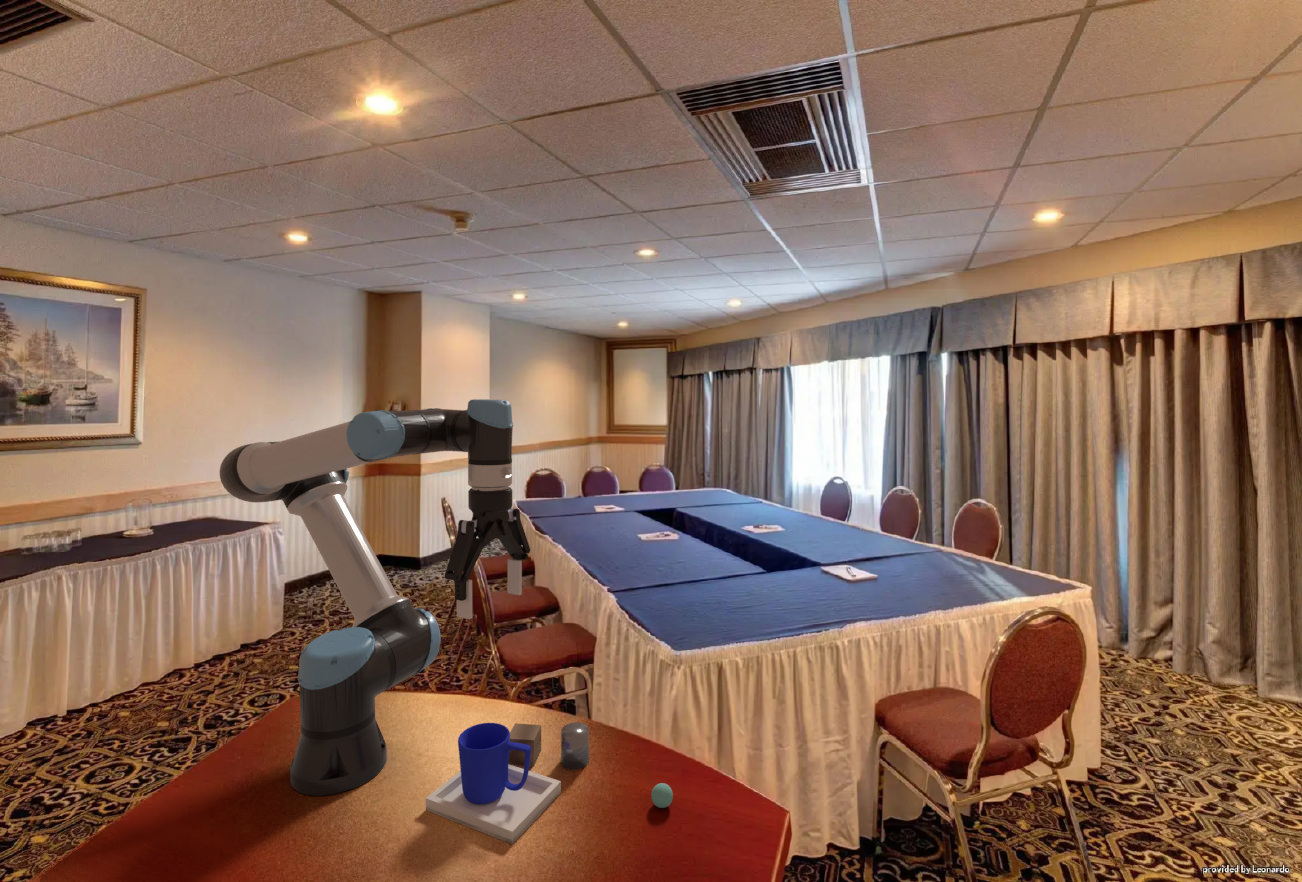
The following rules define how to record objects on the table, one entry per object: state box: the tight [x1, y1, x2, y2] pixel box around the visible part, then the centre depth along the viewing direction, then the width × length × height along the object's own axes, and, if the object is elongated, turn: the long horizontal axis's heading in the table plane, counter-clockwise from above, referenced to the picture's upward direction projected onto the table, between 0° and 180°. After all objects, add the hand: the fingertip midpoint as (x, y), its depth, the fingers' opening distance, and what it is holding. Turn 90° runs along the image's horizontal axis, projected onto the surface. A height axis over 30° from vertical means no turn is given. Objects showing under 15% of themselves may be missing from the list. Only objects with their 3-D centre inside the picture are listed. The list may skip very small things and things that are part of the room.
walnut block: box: [508, 723, 542, 767], centre depth 111 cm, size 5×5×5 cm
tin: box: [560, 722, 590, 771], centre depth 110 cm, size 5×5×6 cm
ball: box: [650, 782, 674, 809], centre depth 99 cm, size 4×4×4 cm
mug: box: [457, 722, 531, 804], centre depth 100 cm, size 8×12×10 cm
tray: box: [425, 764, 562, 845], centre depth 99 cm, size 17×13×2 cm
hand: (491, 605), depth 109 cm, fingers open, 13 cm apart
